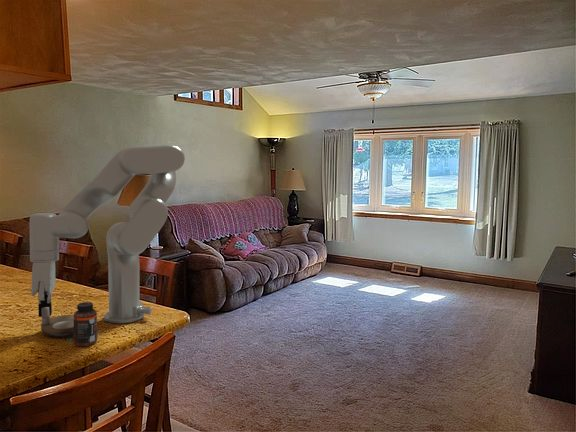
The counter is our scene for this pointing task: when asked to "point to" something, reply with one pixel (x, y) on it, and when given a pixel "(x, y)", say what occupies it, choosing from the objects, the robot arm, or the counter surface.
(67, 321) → the turntable
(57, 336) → the turntable base
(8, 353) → the counter surface
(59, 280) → the counter surface
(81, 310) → the supplement bottle
